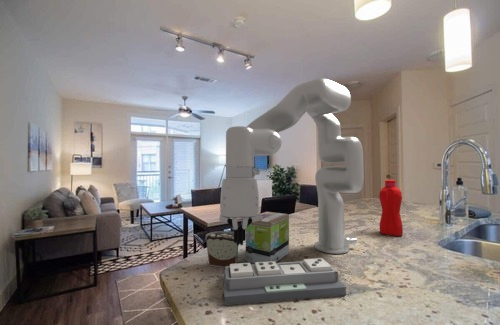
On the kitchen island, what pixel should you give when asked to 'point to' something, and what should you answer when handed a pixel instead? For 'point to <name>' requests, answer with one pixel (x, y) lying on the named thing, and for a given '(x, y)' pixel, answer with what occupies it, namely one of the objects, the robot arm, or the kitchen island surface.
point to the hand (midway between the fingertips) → (239, 243)
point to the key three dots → (317, 265)
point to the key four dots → (267, 268)
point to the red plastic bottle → (391, 209)
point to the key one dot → (292, 269)
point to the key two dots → (241, 270)
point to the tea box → (267, 238)
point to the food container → (221, 248)
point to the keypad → (281, 286)
